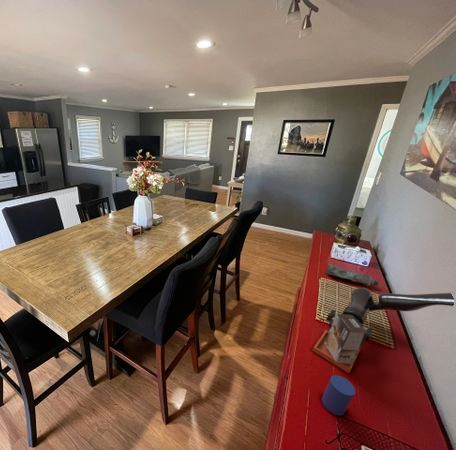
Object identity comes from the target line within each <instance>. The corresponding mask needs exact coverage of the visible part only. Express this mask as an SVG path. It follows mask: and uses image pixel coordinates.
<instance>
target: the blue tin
mask: <svg viewBox="0 0 456 450" xmlns="http://www.w3.org/2000/svg"><path fill="white" fill-rule="evenodd" d="M355 394H356V388H355V386H354V385H353V384H352V382H351V381H349V380H348V379H347V378H345V377H343V376H341V375H336V374H335V375H332V376H331V377H330V379H329V381H328V383H327V385H326V388H325V390H324V392H323V394H322V397H321V402H322V404H323V406H324V408H325V409H326V410H327V411H328V412H330V413H331V414H333V415H336V416H344V415H345V413H346V411H347V409H348V407H349V406H350V404H351V402H352V401H353V398H354V396H355Z"/></svg>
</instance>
